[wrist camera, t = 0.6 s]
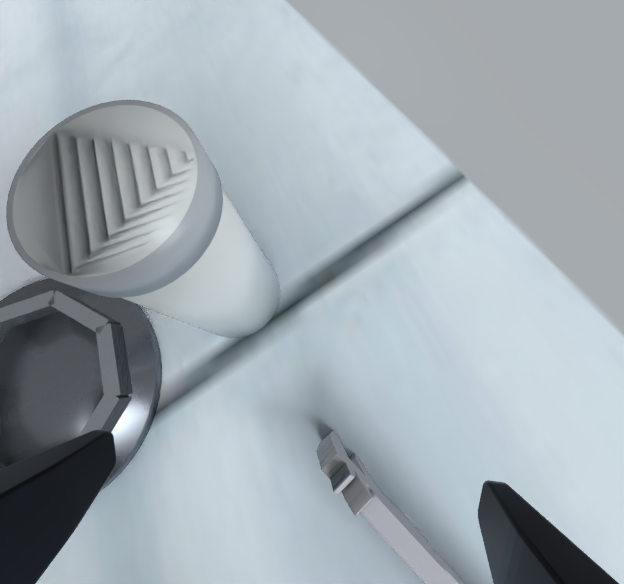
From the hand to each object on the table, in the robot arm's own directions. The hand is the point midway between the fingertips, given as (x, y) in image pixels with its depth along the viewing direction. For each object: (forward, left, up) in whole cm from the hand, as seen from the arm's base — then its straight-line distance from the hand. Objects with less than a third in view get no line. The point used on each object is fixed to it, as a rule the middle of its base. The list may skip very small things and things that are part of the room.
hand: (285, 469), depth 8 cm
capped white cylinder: (+4, +9, -13) cm, 16 cm away
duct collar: (-7, +17, -13) cm, 22 cm away
